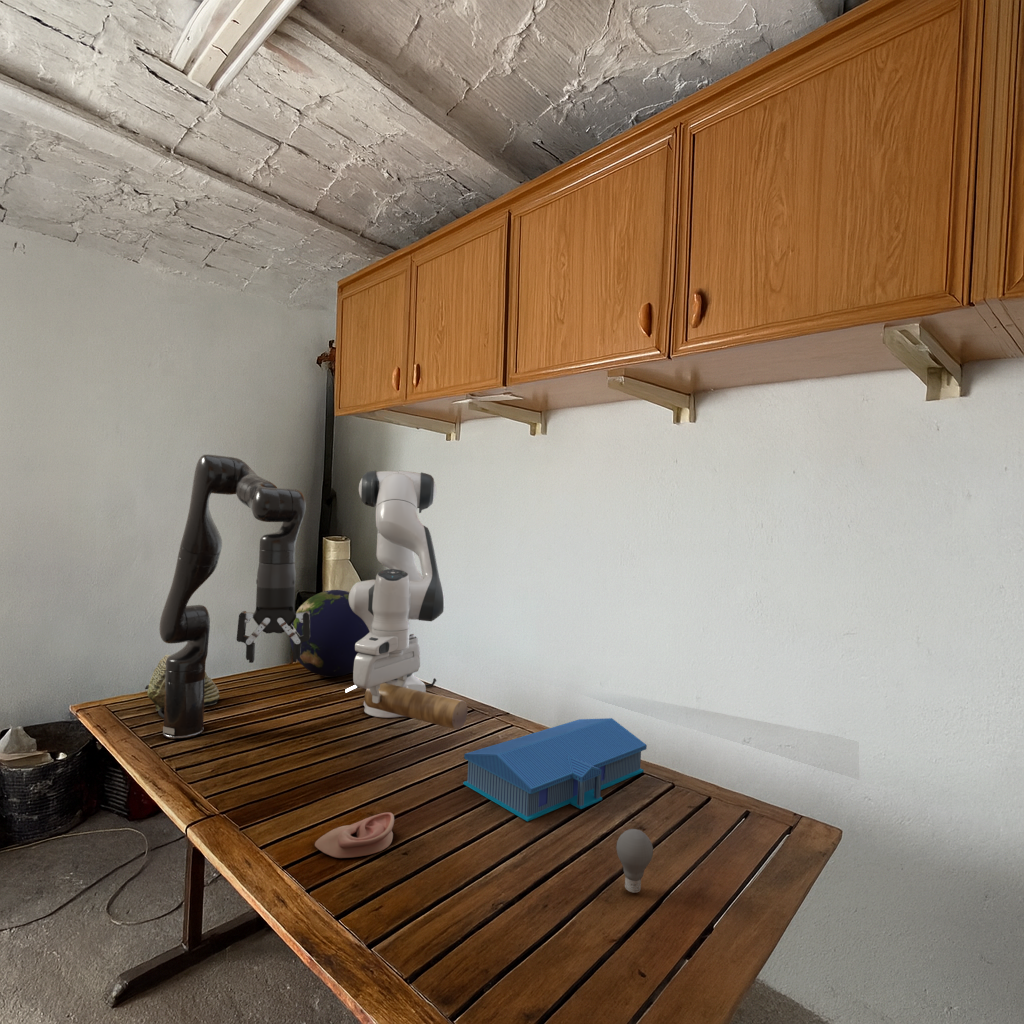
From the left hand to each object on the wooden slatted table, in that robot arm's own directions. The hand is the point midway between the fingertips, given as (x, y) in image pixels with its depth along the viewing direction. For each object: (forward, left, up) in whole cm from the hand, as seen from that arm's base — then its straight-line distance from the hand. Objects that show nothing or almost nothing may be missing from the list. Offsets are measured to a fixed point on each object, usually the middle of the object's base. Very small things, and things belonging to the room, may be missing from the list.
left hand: (273, 661), depth 132 cm
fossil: (-69, +3, -29) cm, 75 cm away
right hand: (+3, +26, -12) cm, 29 cm away
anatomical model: (+27, +5, -29) cm, 40 cm away
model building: (+33, +55, -29) cm, 70 cm away
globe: (-73, +53, -29) cm, 95 cm away
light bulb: (+69, +33, -29) cm, 81 cm away
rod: (+10, +29, -15) cm, 34 cm away
